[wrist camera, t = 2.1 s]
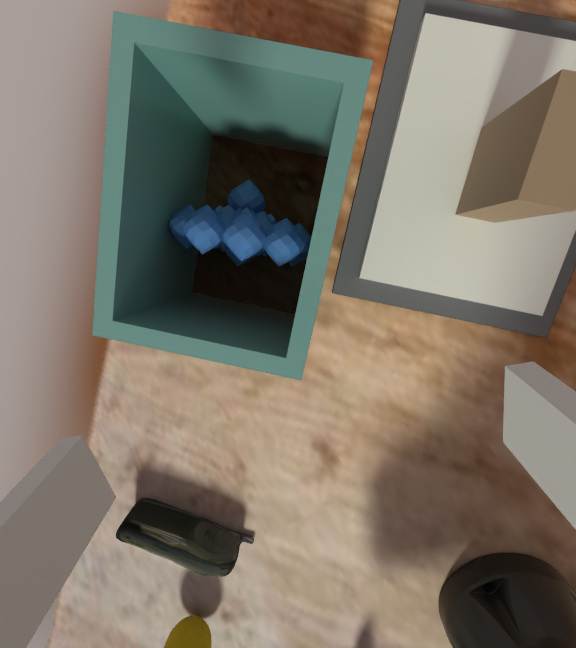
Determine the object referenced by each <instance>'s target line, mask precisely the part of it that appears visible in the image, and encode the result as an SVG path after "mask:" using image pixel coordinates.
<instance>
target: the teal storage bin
mask: <svg viewBox="0 0 576 648" xmlns="http://www.w3.org/2000/svg"><path fill="white" fill-rule="evenodd" d="M372 64H373V60H369V59H364V58H358V57H353V56H348V55H343V54H337V53H332V52H327V51H322V50H316V49H311V48H306V47H301V46H295V45H290V44H285V43H280V42H274V41H269V40H264V39H259V38H253V37H248V36H243V35H238V34H232V33H227V32H222V31H217V30H211V29H206V28H201V27H196V26H190V25H185V24H180V23H175V22H169V21H164V20H159V19H154V18H149V17H143V16H138V15H133V14H128V13H122V12H116V11H114V12H113V27H112V41H111V57H110V72H109V73H110V74H109V87H108V103H107V120H106V135H105V150H104V164H103V180H102V181H103V182H102V196H101V211H100V226H99V241H98V258H97V272H96V289H95V303H94V319H93V335H94V336H99V337H104V338H108V339H113V340H117V341H122V342H127V343H131V344H136V345H141V346H145V347H150V348H154V349H159V350H164V351H168V352H173V353H177V354H182V355H187V356H191V357H196V358H201V359H205V360H210V361H214V362H219V363H224V364H228V365H233V366H237V367H242V368H247V369H251V370H256V371H261V372H265V373H270V374H274V375H279V376H284V377H288V378H293V379H298V380H302V375H303V371H304V366H305V362H306V357H307V353H308V348H309V344H310V340H311V335H312V331H313V326H314V322H315V317H316V313H317V308H318V304H319V300H320V295H321V291H322V286H323V282H324V277H325V273H326V268H327V264H328V260H329V255H330V251H331V246H332V242H333V237H334V233H335V228H336V224H337V220H338V215H339V211H340V206H341V202H342V197H343V193H344V188H345V184H346V180H347V175H348V171H349V166H350V162H351V157H352V153H353V149H354V144H355V140H356V135H357V131H358V126H359V122H360V117H361V113H362V109H363V104H364V100H365V95H366V91H367V86H368V82H369V77H370V73H371V69H372ZM213 135H216V136H221V137H226V138H231V139H236V140H241V141H247V142H252V143H257V144H262V145H267V146H272V147H277V148H282V149H287V150H292V151H297V152H302V153H307V154H312V155H317V156H322V157H327V158H328V161H327V166H326V171H325V175H324V180H323V185H322V190H321V195H320V199H319V204H318V209H317V214H316V218H315V223H314V228H313V233H312V237H311V242H310V247H309V252H308V256H307V261H306V266H305V271H304V275H303V280H302V285H301V290H300V294H299V299H298V304H297V309H296V314H292V313H287V312H282V311H277V310H273V309H268V308H263V307H258V306H254V305H249V304H244V303H240V302H235V301H230V300H225V299H221V298H216V297H211V296H206V295H202V294H197V293H192V291H193V284H194V276H195V269H196V261H197V254H198V249H196V248H195V247H194V246H192V247H190V248H188V249H187V250H186V249H185V248H184V247H183V246H182V245H181V244H180V243H179V242H178V241H177V240H176V239H175V238H174V236H173V234H172V232H171V231H170V229H169V223H170V220H171V217H172V216H173V215H175V214H176V213H177V212H179V211H180V210H182V209H183V208H185V207H187V206H188V205H191V206H192V207H193V208H194V209H195V210H196V211H197V210H198V209H200V208H201V207H203V206H204V202H205V194H206V187H207V179H208V172H209V164H210V157H211V149H212V142H213Z"/></svg>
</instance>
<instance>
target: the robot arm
mask: <svg viewBox="0 0 576 648" xmlns="http://www.w3.org/2000/svg"><path fill="white" fill-rule="evenodd" d="M503 443H504V444H505V445H506V446H507V448H508V449H509V450H510V451H511V452H512V454H513V455H514V456H515V457H516V459H517V460H518V461H519V462H520V463H521V465H522V466H523V467H524V468H525V469H526V471H527V472H528V473H529V474H530V475H531V477H532V478H533V479H534V480H535V481H536V483H537V484H538V485H539V486H540V487H541V489H542V490H543V491H544V492H545V493H546V495H547V496H548V497H549V498H550V499H551V501H552V502H553V503H554V504H555V506H556V507H557V508H558V509H559V510H560V512H561V513H562V514H563V515H564V516H565V518H566V519H567V520H568V521H569V522H570V524H571V525H572V526H573V527H574V528H575V530H576V391H575V390H573V389H572V388H570V387H569V386H568V385H566V384H565V383H563V382H562V381H560V380H559V379H558V378H556V377H555V376H553V375H552V374H551V373H549V372H548V371H546V370H545V369H543V368H542V367H541V366H539V365H538V364H536V363H535V362H534V361H532V362H526V363H520V364H514V365H508V366H505V384H504V419H503ZM115 498H116V496H115V494H114V492H113V490H112V489H111V487H110V485H109V483H108V481H107V479H106V477H105V476H104V474H103V472H102V470H101V468H100V466H99V464H98V463H97V461H96V459H95V457H94V455H93V453H92V451H91V450H90V448H89V446H88V444H87V442H86V440H85V438H84V437H83V435H82V436H75V437H70V438H63V439H61V440H60V441H59V442H58V443H57V444H56V445H55V446H54V447H53V448H52V449H51V450H50V451H49V452H48V453H47V454H46V455H45V456H44V458H42V459H41V460H40V461H39V463H38V464H37V465H36V466H35V467H34V468H33V469H32V470H31V471H30V472H29V473H28V474H27V475H26V476H25V477H24V478H23V479H22V480H21V481H20V482H19V483H18V484H17V485H16V486H15V487H14V488H13V489H12V490H11V492H10V493H9V494H8V495H7V496H6V497H5V498H4V499H3V500H2V501H1V502H0V648H26V647H27V645H28V644H29V642H30V640H31V639H32V637H33V635H34V634H35V632H36V630H37V628H38V627H39V625H40V623H41V622H42V620H43V618H44V617H45V615H46V613H47V612H48V610H49V608H50V607H51V605H52V603H53V602H54V600H55V598H56V597H57V595H58V593H59V592H60V590H61V588H62V587H63V585H64V583H65V582H66V580H67V578H68V577H69V575H70V573H71V572H72V570H73V568H74V567H75V565H76V563H77V562H78V560H79V558H80V557H81V555H82V553H83V552H84V550H85V548H86V547H87V545H88V543H89V542H90V540H91V538H92V537H93V535H94V533H95V531H96V530H97V528H98V526H99V525H100V523H101V521H102V520H103V518H104V516H105V515H106V513H107V511H108V510H109V508H110V506H111V505H112V503H113V501H114V500H115ZM439 613H440V617H441V620H442V623H443V626H444V628H445V631H446V634H447V637H448V639H449V641H450V643H451V645H452V647H453V648H576V594H575V592H574V591H573V590H572V588H571V587H570V586H569V584H568V583H567V582H566V581H565V579H564V578H563V577H562V575H561V574H560V573H559V572H558V571H557V570H555V569H554V568H553V567H552V566H550V565H549V564H547V563H545V562H543V561H541V560H539V559H536V558H533V557H530V556H526V555H520V554H496V555H490V556H486V557H483V558H479V559H477V560H474V561H472V562H470V563H468V564H466V565H465V566H463V567H462V568H460V569H459V570H458V571H456V572H455V573H454V574H453V575H452V576H451V577H450V578H449V580H448V581H447V582H446V584H445V585H444V587H443V589H442V592H441V595H440V599H439Z"/></svg>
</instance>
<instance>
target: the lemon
mask: <svg viewBox="0 0 576 648" xmlns="http://www.w3.org/2000/svg"><path fill="white" fill-rule="evenodd" d="M164 648H211V633H210V629H209V626H208V625H207V623H206V622H205V621H204V620H203V619H202V618H201V617H200V616H199V615H196V616H189V617H186V618H184V619H182V620H181V621H180V622H179V623H178V624H177V625H176V626H175V627H174V628H173V630H172V631H171V633H170V635H169V637H168V639H167V641H166V644H165V646H164Z"/></svg>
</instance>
